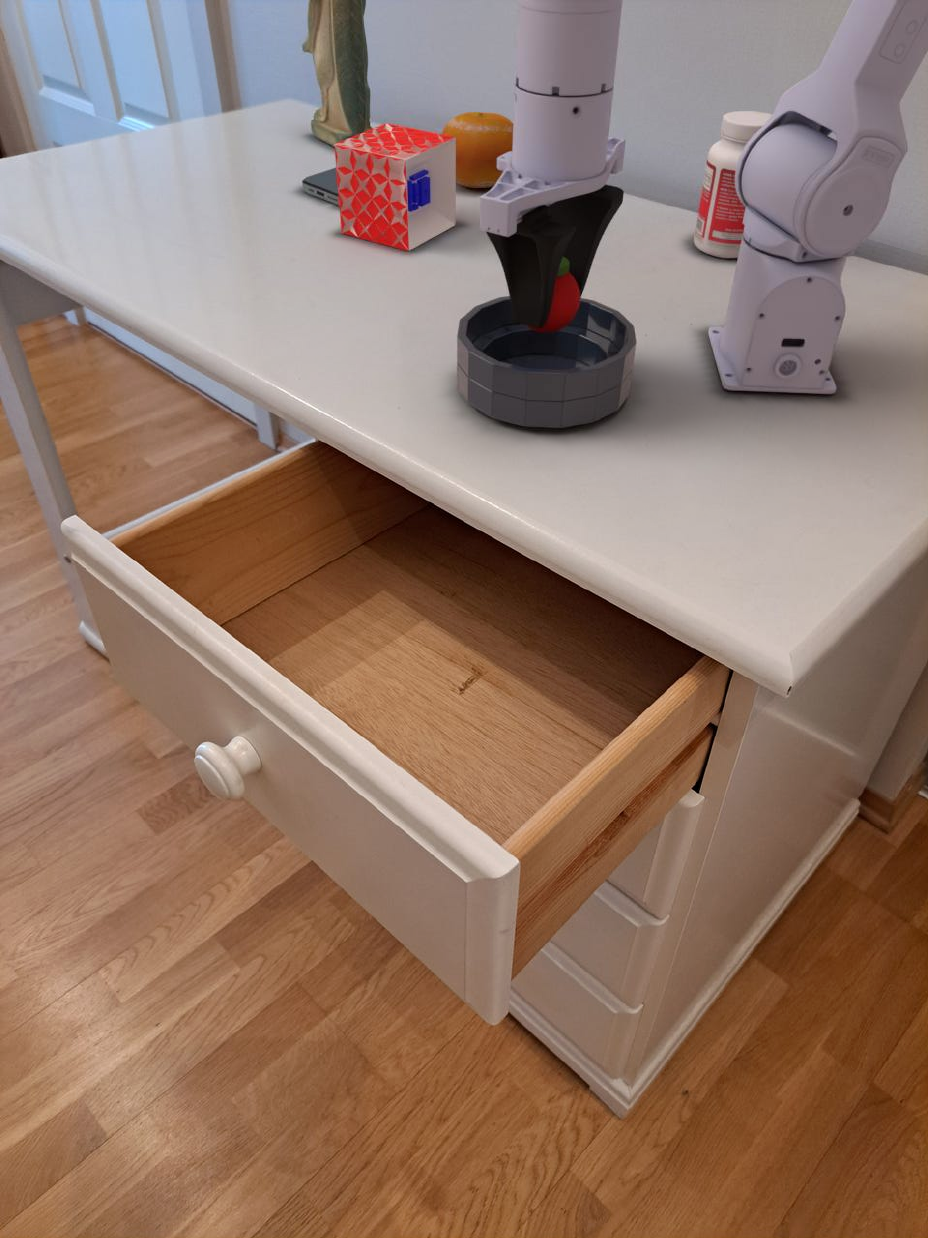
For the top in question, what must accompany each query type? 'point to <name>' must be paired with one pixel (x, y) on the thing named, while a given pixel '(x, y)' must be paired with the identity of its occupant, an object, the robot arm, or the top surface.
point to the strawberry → (562, 300)
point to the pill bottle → (725, 187)
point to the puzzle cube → (396, 185)
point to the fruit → (479, 146)
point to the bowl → (545, 365)
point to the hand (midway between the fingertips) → (548, 310)
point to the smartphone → (323, 186)
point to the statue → (339, 68)
